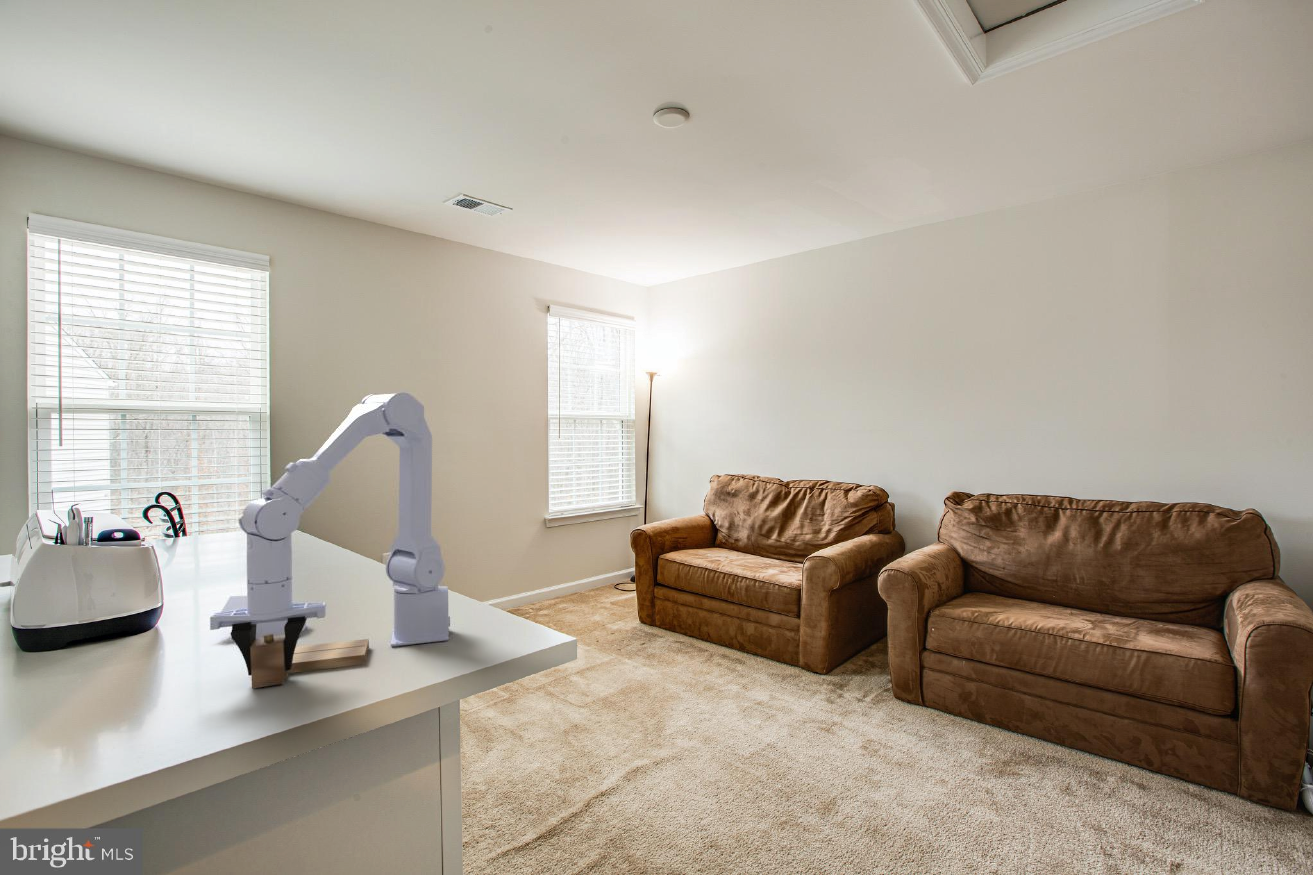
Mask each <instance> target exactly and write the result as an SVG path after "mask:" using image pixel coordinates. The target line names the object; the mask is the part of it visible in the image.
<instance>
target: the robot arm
mask: <svg viewBox="0 0 1313 875" xmlns="http://www.w3.org/2000/svg"><path fill="white" fill-rule="evenodd" d="M380 434H382V435H383V436H386V437H387V438H388V439H389V440H390V441H392V443H393V444H395V445H397V447H398V449H399V469H398V470H399V476H398V478H399V479H398V480H399V482H398V486H399V487H398V535H397V537H396V538H395V539H394V540H393V541H392V543H391V544H390V553H389V556H388V558H387V561H386V563H385V573H386V576H387V577H388V579H389V580H390V581H392V588H393V630H392V633H391V641H390V647H398V646H399V647H400V646H408V645H416V644H425V643H435V642H442V641H444V642H445V641H449V639H450V637H449V636H450V634H449V628H450V627H451V616H449V587H448V586H447V585H441V586H440V585H439V584H440V583H441V582H442V580H443V578H444V576H445V571H446V566H445V565H446V564H445V562H444V560H443V558H442V554H441V546H440V544H439V543H438V541H437V540H436V538H435V537H434V535H433V534H432V490H433V489H432V487H433V485H432V484H433V483H432V482H433V479H432V476H433V472H432V471H433V435H432V433H431V430H430V427H429V426H428V424H427V421H426V419H425V405H423V404H422V402H420V401H419V400H418V399H417V398H415V397H414V396H413V395H412V394H410V393H407V392H396V393H388V394H377V393H373V394H369V395H367V396H365V397H363V399H362V400H361V402H360V403H359V404H357V405H356V406H354V407H352V410H351V411H350V412H349V415H348V416H347V417H346V418H345V420H343V421H342V423H341V424H340V425H339V426H338V428H337V429H336V430H334V432H333V433H332V434H331V435H330V436H329V438H328V439H327V440H326V441H325V442H324V443H323V445H322V446H321V447H320V448H319V449H318V450H317V452H316V453H314V455H313V456H312V457H311V458H301V459H299V460H297V461H296V462H289V463H288V464H287V465H286V466H285V467H284V470H286V472H285V473H284V474H283V475H282V476H281V477H280V478H279V479H278V480H277V481H276V482H275V483H274V484H273V485H272V486H271V487H270V488H265V489H263V491H262V492H261V495H263V496H262V497H263V498H257V499H255V500H253V501H251V502H250V503H248V505H246V506H245V508H244V509H243V511H242V515H241V517H239V518H238V525H239V526H240V529H241V530H242V532H244V533H245V535H246V591H247V594H246V596H247V608H245V609H239V610H233V611H227V612H221V611H220V612H214V613H212V614H211V615H210V617H209V622H210V624H209V625H210V626H209V627H210V628H209V629H210V630H209V631H213V630H219V629H221V628H230V627H231V632H230V637H231V640H233V642H234V643H235V645H236V646H237V648H238V649H239V651H240V653H241V655H242V657H243V660H244V663H245V665H246V669H247V673H248V676H250V677H251V650H250V647H251V645H252V643H253V642H254V640H255V639H256V626H257V624H259V623H268V622H277V621H286V620H288V621H287V623H286V624H285V626H284V631H285V644H286V654H285V671H287V670H291V667H292V662H293V655H294V651H295V647H297V644H298V640H299V637H300V635H301V633H302V632H303V631H302V629H303V627H304V625H305V622H306V623H307V620H308V619H312V618H313V619H314V618H316V619H322V618H323V619H324V618H325V617H326V615H327V608H326V607H327V605H326V604H327V602H326V601H321V602H296V603H295V602H293V566H292V565H293V564H292V563H293V551H292V550H293V549H292V548H293V547H292V533H293V532H295V531H297V529H298V527H299V525H300V520H301V515H302V514H303V512H304V511H306V509H307V508H308V507H310V505H311V504H312V503H313V502H314V501H315V500H316V499H317V497H319V495H321V493H322V492H323V491H324V490H325V489H326V488H327V487H328V486H329V485H330V483H331V471H332V470H333V469H334V468H335V467H336V466H337V465H338V464H340V463H341V462H342V461H343V459H345V458H346V457H347V456H348V454H350V453H351V452H352V451H353V450H354V449H355V448H356V447H357V446H358V445H360V443H361V442H363V441H364V439H366V438H367V437H370V436H375V435H380Z"/></svg>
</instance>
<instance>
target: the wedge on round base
mask: <svg viewBox="0 0 1313 875" xmlns="http://www.w3.org/2000/svg"><path fill="white" fill-rule="evenodd" d="M245 608H247V595H231V596H229V598H228V599H227V601H226V603H225V604H224V606H223V608H222V609H221V611H220V612H227V611H233V610H239V609H245ZM287 621H288V620H286V621H277V622H268V623H259V624H257V626H256V638H263V637H264V635H267V634H273V636H278V635H285V631H284V626H285V624H286V623H287ZM306 629H307V621H306V622H305V625H304V627H303V629H302V631H301V632H304V631H305V630H306Z"/></svg>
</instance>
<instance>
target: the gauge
mask: <svg viewBox="0 0 1313 875" xmlns="http://www.w3.org/2000/svg"><path fill="white" fill-rule="evenodd" d="M250 650H251V675H250V677H251V689H257V688H264V687H269V686H277V685H281V684H285V681H286V679H287V676H288V674H289V673H288V670H287V671H285V654H286V644H285V635H278V636H273V634H267V635H264V637H263V638H256V639H255V640H254V642H253V643H252V645H251V647H250Z"/></svg>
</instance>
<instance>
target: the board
mask: <svg viewBox="0 0 1313 875" xmlns="http://www.w3.org/2000/svg"><path fill="white" fill-rule="evenodd" d="M369 649H370V640H369V638H364V639H356V640H345V641H337V642H328V643H327V642H326V643H319V644H309V645H308V644H307V645H300V646H299V645H298V646H296V647H295V651H294V655H293V662H292V667H291V670H288V674H293V673H302V672H308V671H309V672H310V671H311V672H312V671H319V670H326V669H334V668H336V669H337V668H342V667H349V666H350V667H351V666H352V667H353V666H358V665H365V664H366V660H367V656H368V653H369Z"/></svg>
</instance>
